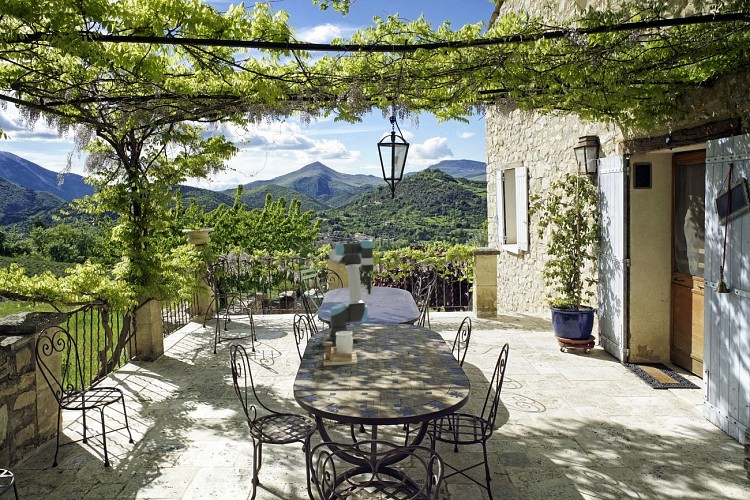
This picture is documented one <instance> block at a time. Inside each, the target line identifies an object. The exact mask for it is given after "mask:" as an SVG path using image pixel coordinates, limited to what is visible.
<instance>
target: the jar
mask: <svg viewBox="0 0 750 500" xmlns="http://www.w3.org/2000/svg"><path fill="white" fill-rule="evenodd" d="M336 336H337V337H336V341H335V345H336V346H335V347H337V351H338V353H339V354H343V353H351V352H353V346H354V341H353V340H354V338H353V331H351V330H350V331H349V330H348V331H340V332H337V333H336Z"/></svg>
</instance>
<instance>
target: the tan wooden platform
mask: <svg viewBox="0 0 750 500" xmlns="http://www.w3.org/2000/svg"><path fill="white" fill-rule="evenodd" d="M333 342H334V341H324V342H322V346H323V347H324V353H323V362H322V363H323V366H325V367H326V366H337V365H338V366H339V365H351V364H353V365H354V364H355V365H356V364H358V359H357V351H352V352H351V353H343V354H339V353H338V351H337V346H333V345H334V344H333Z"/></svg>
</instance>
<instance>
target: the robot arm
mask: <svg viewBox="0 0 750 500" xmlns="http://www.w3.org/2000/svg"><path fill="white" fill-rule="evenodd" d="M373 246H374V245H373V240H372V239H362V240H361V241H360V242H349V243H336V244H335V245H334V248H332V249H331V250H330V251H329V252H328V258H329V261H330V262H331V263H334V264H337V265H344V267H345V269H346V270H347V271H346V272H347V282H348V290H349V292H348V293H349V303H348V306H347V305H346V304H339V305H334V306H332V307H331V308H330V309H329V316H330V317H329V319H330V329H329V332H328V333H329V334H328V340H329V341H330V342H336V337H337V336H336V333H337V332H340V331H349V328H348V324H354V323H355V324H356V323H363V322H366V321H367V319H368V313H369V310H368V306H367V305H366V304H365V302H364V301H363V297H362V285H361V275H360V267H361V271H362V272H364V279H365V296H366V299H367V300H372V298H373V297H372V296H373V295H372V273H371V271H374V261H375V259H374V247H373Z"/></svg>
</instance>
